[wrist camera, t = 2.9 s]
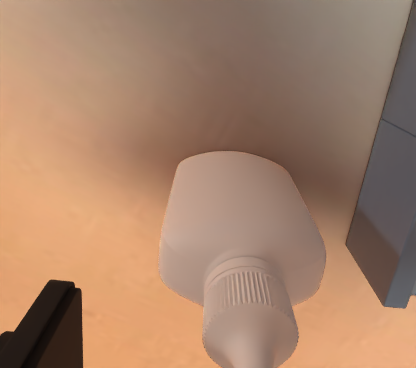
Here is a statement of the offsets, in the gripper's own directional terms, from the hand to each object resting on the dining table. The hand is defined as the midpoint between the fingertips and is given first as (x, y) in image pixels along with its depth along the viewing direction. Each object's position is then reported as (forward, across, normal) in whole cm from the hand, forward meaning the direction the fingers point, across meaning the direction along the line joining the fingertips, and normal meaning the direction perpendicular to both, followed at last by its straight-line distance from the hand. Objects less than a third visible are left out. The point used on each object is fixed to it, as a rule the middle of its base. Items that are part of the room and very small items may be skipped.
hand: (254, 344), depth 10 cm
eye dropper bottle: (+11, 0, 0) cm, 11 cm away
